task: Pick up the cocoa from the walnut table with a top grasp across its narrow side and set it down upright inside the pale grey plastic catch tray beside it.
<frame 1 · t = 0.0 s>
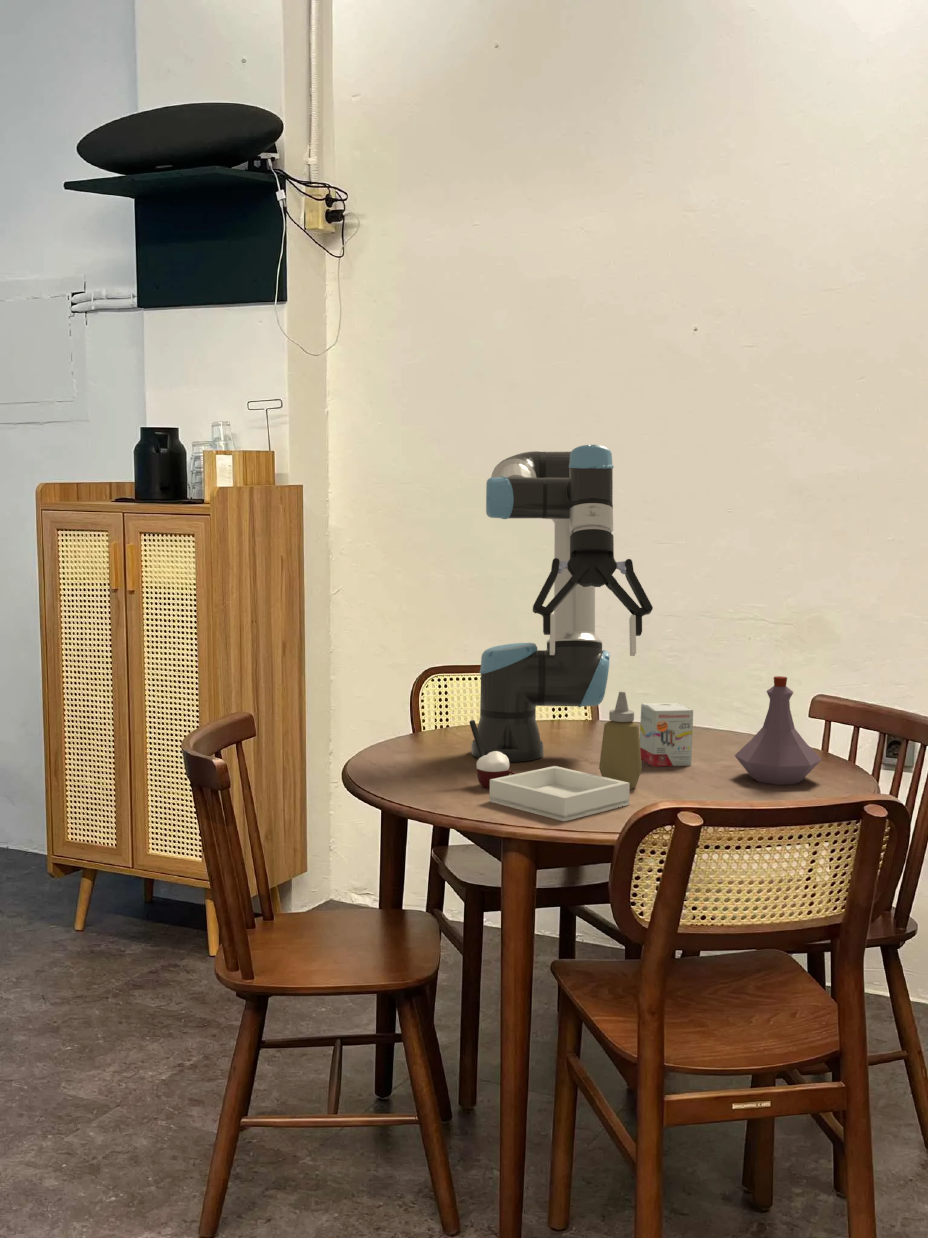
hand: (592, 654, 211), 28 cm above the table, tool tilted 20°, fingers open, 13 cm apart
cocoa: (492, 787, 234), on the table
flask: (776, 780, 242), on the table
ink box: (665, 763, 257), on the table
squeeze bottle: (620, 787, 235), on the table
catch tray: (559, 803, 222), on the table
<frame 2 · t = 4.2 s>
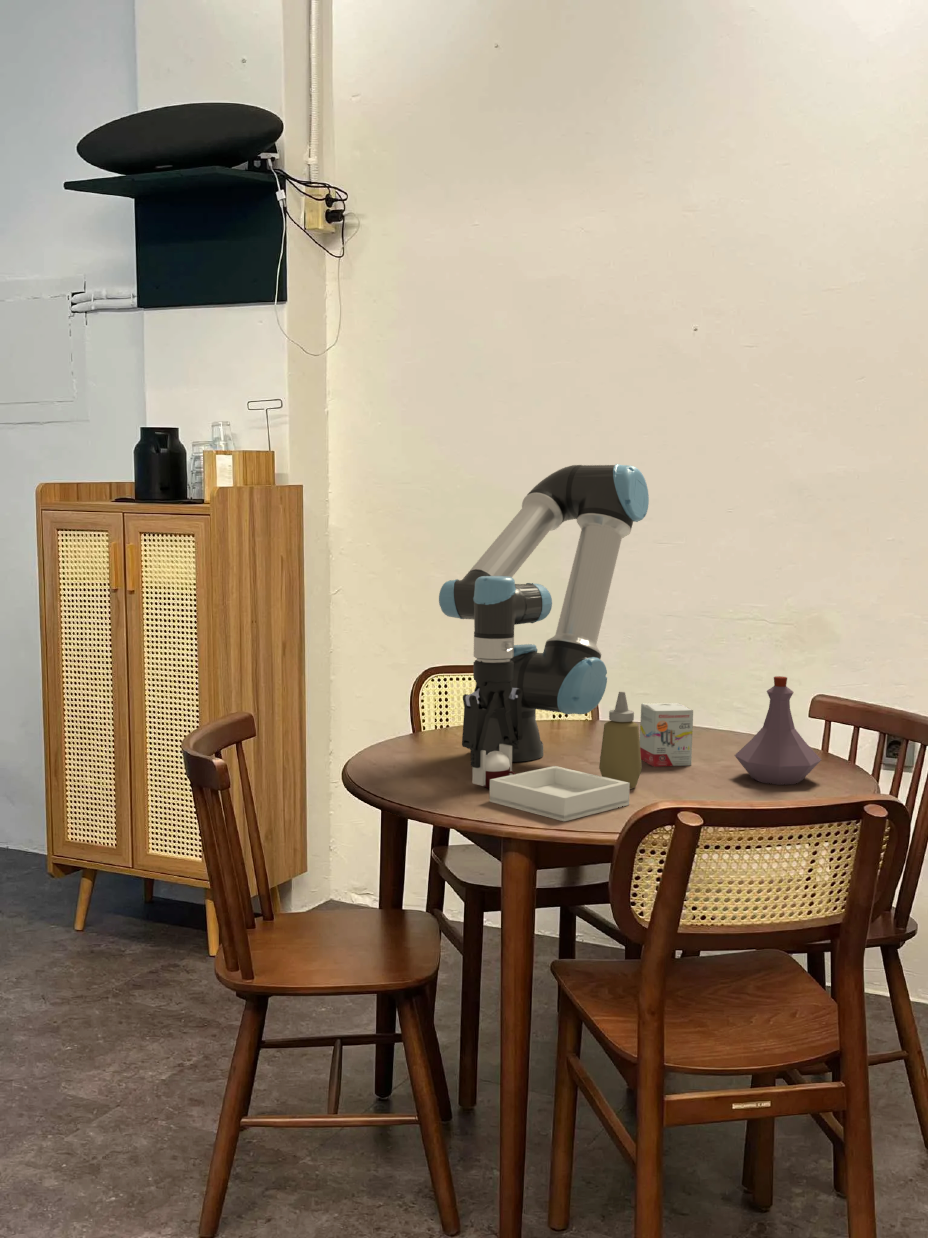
hand: (492, 781, 234), 1 cm above the table, tool pointing down, fingers closed on cocoa, 6 cm apart
cocoa: (492, 787, 234), on the table, touching gripper
everything else where it was.
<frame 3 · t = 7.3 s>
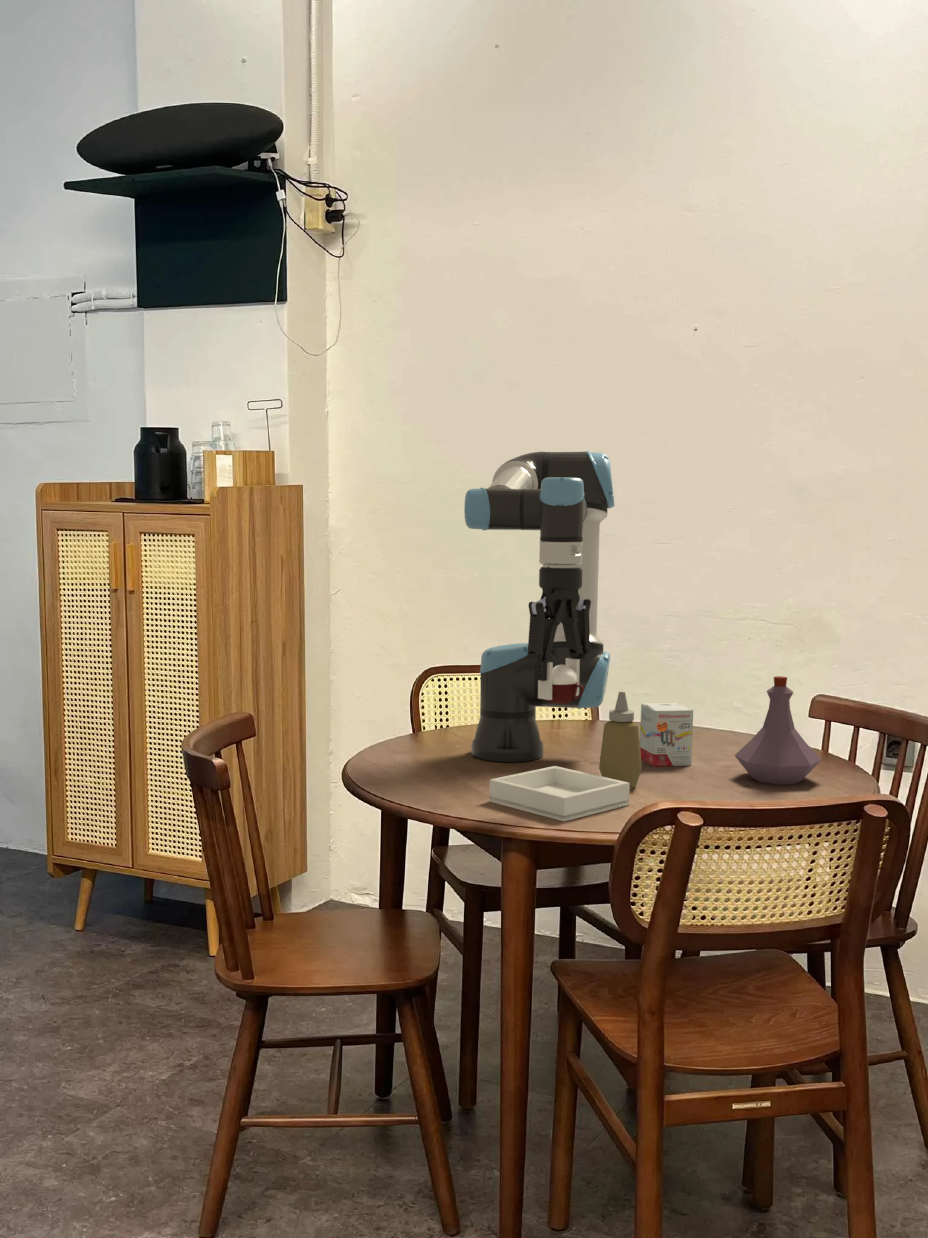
hand: (558, 696, 220), 19 cm above the table, tool pointing down, fingers closed on cocoa, 6 cm apart
cocoa: (558, 703, 220), point 18 cm above the table, touching gripper
everything else where it was.
when the fingers open (5 cm above the table, at t = 10.7 s): cocoa drops 3 cm, resting on catch tray.
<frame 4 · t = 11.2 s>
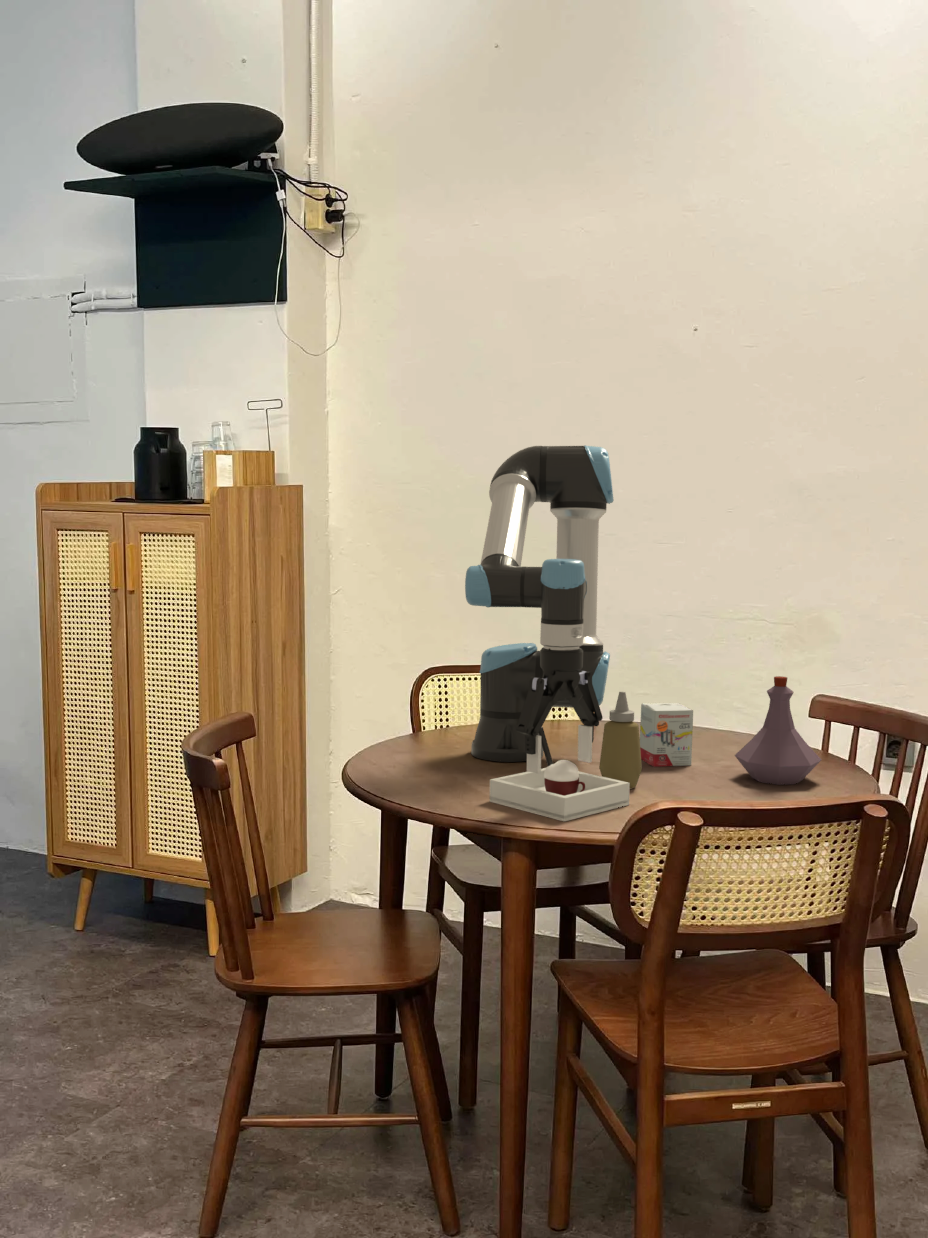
hand: (559, 766, 221), 7 cm above the table, tool pointing down, fingers open, 13 cm apart
cocoa: (560, 798, 222), point 1 cm above the table, touching catch tray
everything else where it was.
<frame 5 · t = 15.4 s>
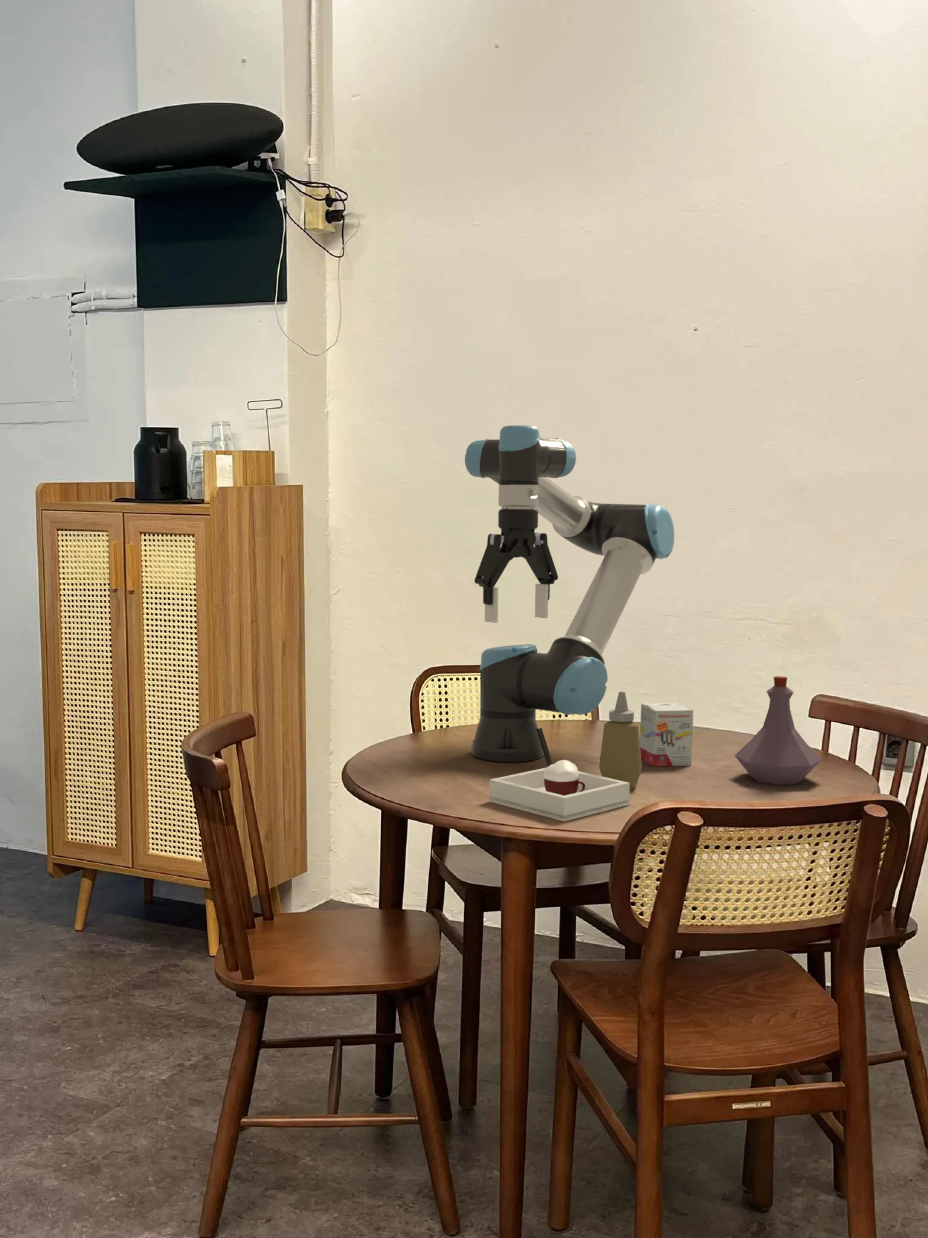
hand: (516, 620, 238), 31 cm above the table, tool pointing down, fingers open, 13 cm apart
nothing on the table moved.
at the end: cocoa inside the target area on the catch tray (0.4 cm from its centre), point 0.8 cm above the catch tray's base; cocoa tilted 0°; the gripper is holding nothing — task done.
